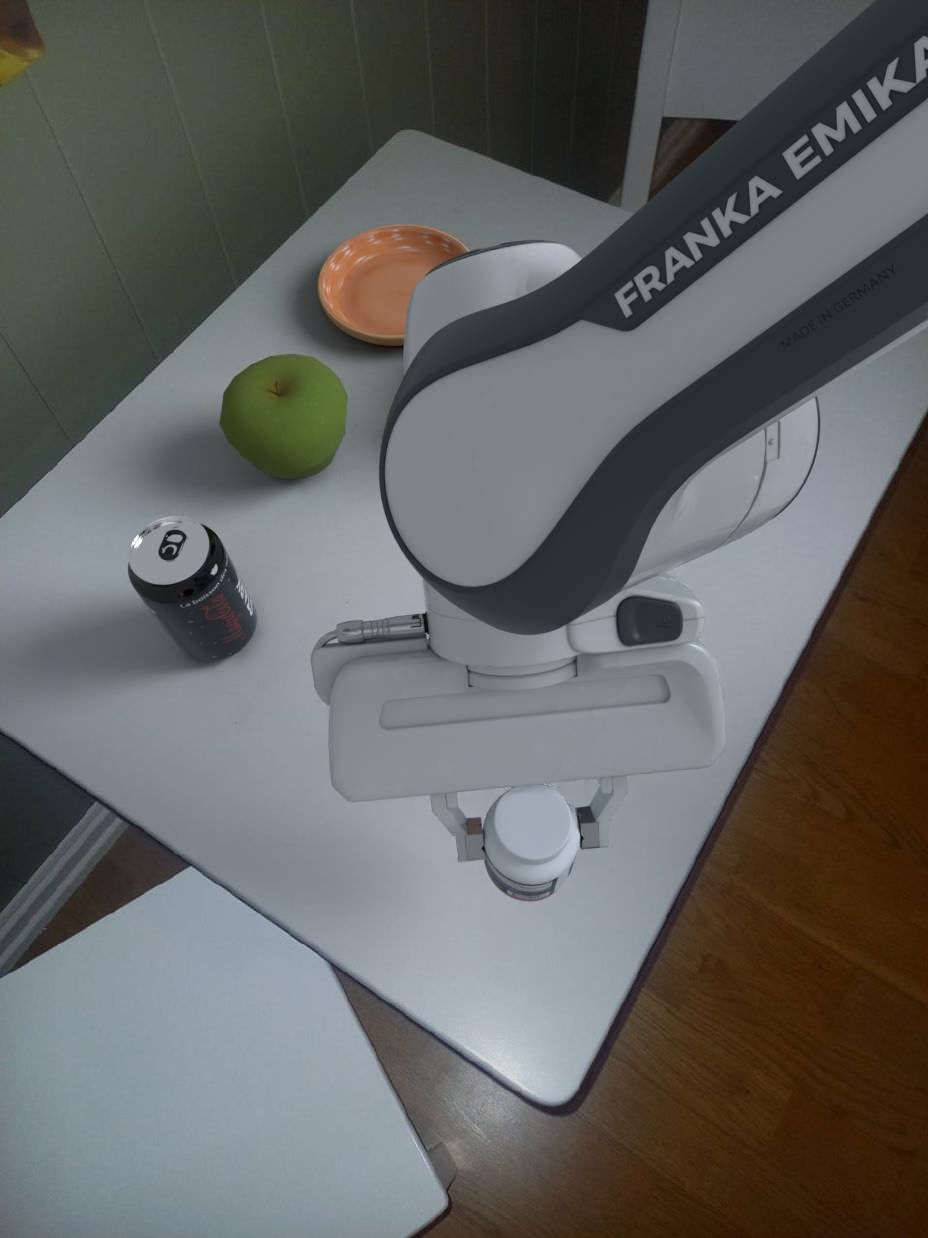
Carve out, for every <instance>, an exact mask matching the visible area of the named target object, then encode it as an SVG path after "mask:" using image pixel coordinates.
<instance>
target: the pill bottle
mask: <svg viewBox="0 0 928 1238" xmlns="http://www.w3.org/2000/svg"><path fill="white" fill-rule="evenodd" d="M482 830H483V840H484V845H483V846H484V851H485V860H483V862H484V865H485V870H486V873H487V874H488V877H489V879H490V880H491V882H492V884H493V885H494V886H495V887H496V888H497V889H498V891H500V892H501V893H503V894H504V895H505V896H507V897H509V898H510V899H514V900H516V901H519V902H527V903H531V902H539V901H543V900H546V899H548V898H550V897H551V896H553V895H554V894H556V893H557V892H558V891H560V889H562V887H563V886H564V885H565V884H566V882H567V881H568V879H569V877H570V876H571V872H572V870H573V866H574V863H575V861H576V857H577V855H578V852H579V849H580V827H579V822H578V819H577V816H576V813H575V810H574V809H573V807H572V805H570V803H569V802H568V800H566V798H564V797H563V795H562V794H561V793H560V792H559V791H558V790H556V789H555V788H554V787H552V786H550V785H548V784H536V785H526V786H516V787H509V789H507V790H505V792H503V793H502V794H501V795H499V796H498V797H497V798H496V799H495V800H494V801H493V803H492V804H491V805H490V807H489V808H488V810H487V812H486V814H485V817H484V820H483V823H482Z"/></svg>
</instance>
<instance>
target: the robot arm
mask: <svg viewBox="0 0 928 1238" xmlns="http://www.w3.org/2000/svg"><path fill="white" fill-rule="evenodd" d="M926 328H928V0H874V1H873V2H872V3H871V4H869V5H868V6H867V7H866V8H865V9H864V10H862V11H861V12H860V13H859V14H858V15H857V16H856V17H855V18H854V19H852V20H851V21H849V22H848V24H847V25H845V26H844V27H843V28H842V29H841V30H839V32H838V33H836V35H834V36H833V37H832V38H831V39H830V40H828V41H827V42H826V43H825V44H824V45H822V46H821V48H819V49H818V50H817V51H816V52H815V53H814V54H813V55H812V56H810V57H809V58H808V59H807V60H806V61H805V62H803V64H801V65H800V66H799V67H798V68H797V69H796V70H795V71H793V72H792V73H791V74H790V75H789V76H788V77H787V78H786V79H785V80H783V81H782V82H781V83H780V84H779V85H778V86H777V87H776V88H774V89H773V90H772V91H771V92H769V94H768V95H766V96H765V97H764V98H763V99H762V100H760V101H759V103H757V104H756V105H755V106H754V107H753V108H752V109H750V111H748V113H746V114H744V115H743V117H742V118H740V119H739V121H736V123H735V124H734V125H732V126H731V127H730V129H728V130H727V131H726V132H725V133H724V134H723V135H721V137H719V138H717V140H716V141H715V142H713V143H712V144H711V145H710V146H709V147H708V148H706V150H705V151H703V152H702V153H701V154H700V155H699V156H698V157H696V158H695V159H694V160H693V161H692V162H691V163H690V164H689V165H688V166H686V167H685V168H684V169H683V170H682V171H681V172H680V173H679V174H677V175H676V176H675V177H674V178H673V179H672V180H670V181H669V182H668V184H666V185H665V186H664V187H663V188H662V189H660V190H659V191H658V192H657V193H656V194H655V195H654V196H653V197H652V198H650V199H649V200H648V201H647V202H645V204H643V206H641V207H640V208H639V209H638V210H637V211H636V212H634V213H633V214H632V215H631V216H630V217H629V218H628V219H627V220H626V221H624V222H623V223H622V224H621V225H619V227H618V228H617V229H615V230H614V231H613V232H612V233H611V234H609V236H607V237H606V238H605V239H604V240H603V241H602V242H601V243H599V244H598V245H597V246H596V247H595V248H593V249H592V250H591V251H590V252H589V253H588V254H587V255H586V256H584V257H581V256H580V255H579V254H578V253H577V252H576V251H575V250H574V249H572V248H571V247H570V246H568V245H565V244H563V243H562V242H557V241H550V240H545V239H523V240H516V241H507V242H502V243H500V244H497V245H493V246H488V247H484V248H475V249H472V250H469V252H466V253H463V254H461V255H458V256H456V257H453V258H451V259H449V260H447V261H445V262H443V263H441V264H439V265H438V266H436V267H434V268H433V269H432V270H430V271H429V272H428V273H427V274H426V275H425V276H424V277H423V278H422V279H421V280H420V281H419V282H418V283H417V284H416V285H415V287H414V288H413V291H412V293H411V296H410V301H409V305H408V310H407V317H406V324H405V332H404V345H403V353H402V354H403V355H402V357H403V359H402V361H403V365H402V366H403V367H402V369H403V377H402V379H401V381H400V383H399V386H398V387H397V389H396V392H395V394H394V397H393V400H392V402H391V405H390V407H389V411H388V414H387V417H386V421H385V425H384V429H383V433H382V438H381V444H380V451H379V452H380V453H379V460H378V461H379V464H378V483H379V492H380V493H379V494H380V500H381V504H382V508H383V513H384V515H385V518H386V522H387V524H388V527H389V529H390V531H391V534H392V536H393V538H394V540H395V542H396V544H397V545H398V548H399V549H400V551H401V552H402V554H403V555H404V557H405V559H406V560H407V561H408V562H409V564H410V565H411V566H412V568H413V569H414V570H415V571H416V572H417V573H418V575H420V577H421V578H422V586H423V595H424V605H425V611H424V613H413V614H407V615H396V616H390V617H386V618H381V619H374V620H366V621H364V620H362V619H352V620H346V621H343V622H339V623H337V624H336V626H335V629H334V630H332V631H329V632H327V633H325V634H324V635H323V636H321V637H320V638H319V639H318V641H316V642H315V645H314V647H312V652H311V655H310V665H311V673H312V679H313V686H314V689H315V693H316V694H317V695H318V697H319V699H320V700H321V701H322V702H323V703H324V705H326V706H328V707H329V710H328V731H327V733H328V735H327V737H328V739H327V740H328V744H327V745H328V762H329V763H328V765H329V776H330V783H331V787H332V789H333V790H335V791H336V792H337V793H338V794H339V795H340V796H341V797H342V798H344V799H345V800H346V801H347V802H349V803H365V802H375V801H384V800H394V799H404V798H415V797H423V796H424V797H425V796H429V798H430V799H429V800H430V807H431V812H432V813H433V815H434V816H435V817H436V818H437V819H438V820H439V821H440V823H441V824H442V825H443V826H444V828H445V829H446V830H447V831H448V832H449V834H450V835H451V836H452V837H455V843H456V854H457V861H458V863H466V862H475V861H484V860H485V851H484V846H483V845H484V840H483V822H482V817H481V816H474V817H467V816H466V815H465V814H464V813H463V811H462V810H461V808H460V807H459V803H458V793H464V792H475V791H484V790H494V789H505V788H512V787H516V786H526V785H536V784H545V785H547V784H556V783H566V782H575V781H585V780H596V783H597V784H598V788H597V790H596V791H595V794H594V795H593V798H592V799H591V801H590V803H589V805H585V806H576V807H574V809H575V810H574V812H575V814H576V816H577V819H578V822H579V827H580V845H579V849H580V850H581V851H583V850H593V849H604V848H609V847H610V842H609V841H610V840H609V836H610V835H609V822H610V821H611V820H612V819H613V817H614V816H615V814H616V813H617V811H618V809H619V807H620V806H621V804H622V802H623V801H624V799H625V798H626V796H627V795H628V792H629V786H628V785H629V783H628V779H629V778H628V776H635V775H637V776H638V775H646V774H647V775H648V774H659V773H667V772H676V771H687V770H700V769H706V768H710V767H712V766H713V765H714V763H715V762H716V761H717V760H718V758H719V757H721V755H722V754H723V752H724V751H725V748H726V745H727V723H726V721H727V720H726V710H725V709H726V708H725V702H724V691H723V687H722V681H721V674H720V671H719V668H718V664H717V662H716V659H715V657H714V656H713V654H712V653H711V651H710V650H708V648H707V647H706V646H705V644H703V642H702V641H701V640H700V639H699V638H700V637H701V636H702V635H703V632H704V628H705V619H706V617H705V616H706V615H705V609H704V606H703V604H702V602H701V600H700V599H699V598H698V597H697V595H696V594H695V593H694V592H693V590H692V589H690V588H689V587H688V586H687V585H686V584H685V583H683V582H682V581H681V580H679V579H678V578H677V577H675V576H673V575H672V574H670V573H668V572H670V571H673V570H674V569H677V568H679V567H681V566H683V565H685V564H686V565H687V564H689V563H690V562H692V561H694V560H697V559H698V558H701V557H702V556H706V555H707V554H710V553H712V552H714V551H717V550H718V549H721V548H724V547H726V546H728V545H730V544H732V543H734V542H736V541H738V540H740V539H742V538H744V537H745V536H747V535H749V534H752V533H753V532H755V531H757V530H758V529H759V528H761V527H762V526H764V525H765V524H767V523H768V522H770V521H771V520H773V519H775V518H776V517H777V516H779V515H780V514H782V512H784V511H785V510H786V509H787V508H788V507H789V506H790V505H791V504H792V503H793V501H794V500H795V499H796V498H797V497H798V495H799V494H800V493H801V491H802V489H803V488H804V486H805V484H806V482H807V481H808V479H809V476H810V474H811V472H812V470H813V467H814V464H815V461H816V458H817V453H818V449H819V444H820V436H821V413H820V404H819V399H818V396H819V395H821V394H823V393H824V392H826V391H828V390H829V389H831V388H832V387H834V386H835V385H837V384H839V383H840V382H842V381H843V380H845V379H847V378H848V377H850V376H851V375H853V374H854V373H856V372H858V371H859V370H861V369H863V368H864V367H866V366H867V365H869V364H871V363H872V362H874V361H875V360H877V359H878V358H880V357H882V356H883V355H885V354H886V353H888V352H890V351H891V350H893V349H894V348H896V347H898V346H899V345H901V344H902V343H904V342H906V341H907V340H909V339H911V338H912V337H914V336H915V335H917V334H919V333H920V332H922V331H923V330H925V329H926ZM333 640H337V642H332V641H333Z"/></svg>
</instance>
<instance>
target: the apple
mask: <svg viewBox="0 0 928 1238" xmlns="http://www.w3.org/2000/svg"><path fill="white" fill-rule="evenodd" d="M348 398H349V395H348V393H347V391H346V389H345V386H344V384H343V383H342V381H341V379H340V377H339V376H338V375H337V374H336V373H335V372H334V371H333V370H332V368H330V367H329V366H328V365H326V364H325V363H323V362H321V361H320V360H319V359H317V358H315V357H314V356H308V355H302V354H296V353H286V354H278V355H276V354H275V355H269V356H267V357H265V358H263V359H261V360H258V361H255V362H254V363H251V364H250V365H249V366H246V368H244V369H243V370H242V371H240V372H239V373H237V374H236V375H235V376H234V377H232V379H231V381H230V382H229V384H228V385H227V387H226V388H225V390H224V391H223V394H222V402H221V409H220V416H219V427H220V429H221V431H222V433H223V434H224V437H225V439H226V440H227V442H228V444H230V446H231V447H232V448H233V449H234V450H235V451H236V452H237V453H238V454H239V455H240V456H241V457H242V458H243V459H245V460H246V461H247V462H248V463H250V464H251V465H253V466H254V467H256V469H259V470H261V471H262V472H264V473H266V474H268V475H269V476H271V477H275V478H279V479H283V480H301V479H306V478H309V477H312V476H314V475H317V474H320V473H321V472H322V471H323V470H324V469H326V468H327V467H328V466H329V465H330V464H332V462H333V460H334V459H335V456H336V454H337V452H338V450H339V447H340V446H341V444H342V441H343V439H344V437H345V436H346V435H345V434H346V427H347V413H348Z"/></svg>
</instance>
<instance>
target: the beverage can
mask: <svg viewBox="0 0 928 1238" xmlns="http://www.w3.org/2000/svg"><path fill="white" fill-rule="evenodd" d="M127 552H128V554H127V555H128V557H127V559H128V563H127V576H128V580H129V581H130V584H131V586H132V588H133V589H134V591H135V592H136V594H137V595H138V596H139V598H140V599H141V600H142V602H143V603H144V604H145V606H146V607H147V609H148V610H149V611H150V613H151V614H152V616H153V617H154V618H155V619H156V621H157V622H158V623H159V625H160V626H161V627H162V629H163V631H164V632H165V633H166V634H167V635H168V637H169V638H170V640H172V642H173V643H174V644H175V646H176V647H177V648H178V649H179V650H180V651H181V653H183V654H184V655H186V656H187V657H188V658H190V659H193V660H195V661H200V662H206V663H207V662H218V661H222V660H225V659H228V658H230V657H233V656H234V655H236V654H238V653H239V652H240V651H241V650H243V649H244V648H245V647H246V646H247V644H248V643H250V641H251V639H252V638H253V636H254V634H255V631H256V628H257V625H258V613H257V609H256V607H255V604H254V601H253V600H252V598H251V596H250V594H249V591H248V590H247V587H246V586H245V584H244V582H243V580H242V578H241V576H240V574H239V572H238V570H237V568H236V566H235V564H234V561H233V560H232V558H231V556H230V554H229V552H228V550H227V549H226V546H225V545H224V543H223V541H222V540H221V538H220V537H219V535H218V534H217V533H216V532H215V531H214V530H213V529H211V527H208V526H207V525H205V524H203V523H200V522H198V521H197V520H195V519H193V518H191V517H188V516H184V515H169V516H164V517H160V518H157V519H155V520H152V521H151V522H149V523H148V524H146V525H144V526H143V527H142V528H141V529H140V530H139V531H138V532H137V533H136V534H135V536H134V537H133V538H132V540H131V542H130V545H129V547H128V551H127Z"/></svg>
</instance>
